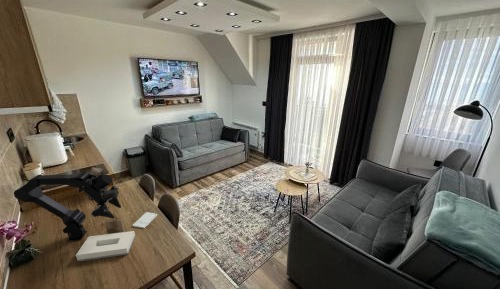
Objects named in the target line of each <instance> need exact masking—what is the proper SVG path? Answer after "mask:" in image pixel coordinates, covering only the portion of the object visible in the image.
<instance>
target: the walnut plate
mask: <svg viewBox="0 0 500 289" xmlns="http://www.w3.org/2000/svg"><path fill="white" fill-rule="evenodd" d="M124 223H125V222H124V218H123V217H117V218H113V219H112V218H108V219H106V220H105V221H104V225H105V229H106V232H107V234H113V233H121V232H126V227H125V224H124Z"/></svg>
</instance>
